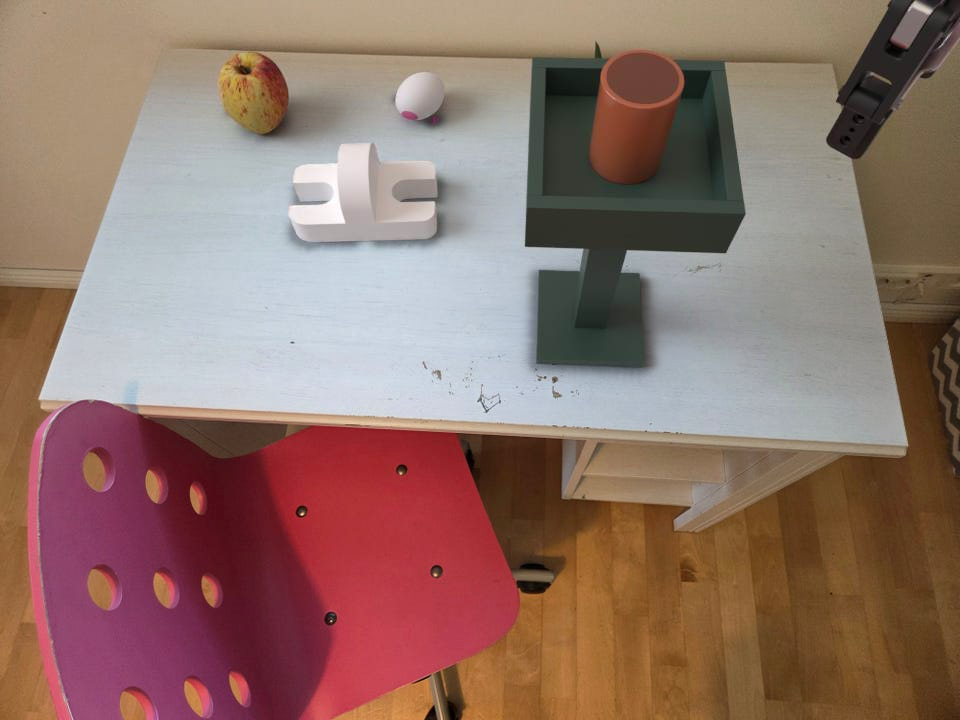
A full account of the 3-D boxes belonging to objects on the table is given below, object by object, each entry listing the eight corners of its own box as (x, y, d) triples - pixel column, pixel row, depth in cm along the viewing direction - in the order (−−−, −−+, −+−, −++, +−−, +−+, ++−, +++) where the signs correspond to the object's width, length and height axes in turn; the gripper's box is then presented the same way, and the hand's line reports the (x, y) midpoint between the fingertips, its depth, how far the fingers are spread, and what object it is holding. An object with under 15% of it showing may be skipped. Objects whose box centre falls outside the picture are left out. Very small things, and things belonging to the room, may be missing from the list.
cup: (643, 122, 59) (663, 41, 52) (673, 173, 56) (699, 95, 49) (577, 139, 58) (588, 59, 51) (604, 192, 55) (620, 116, 48)
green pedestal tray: (653, 265, 84) (724, 60, 57) (661, 384, 77) (746, 213, 50) (522, 260, 85) (532, 56, 58) (517, 378, 78) (526, 207, 51)
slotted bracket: (294, 242, 87) (271, 191, 79) (302, 183, 92) (281, 128, 83) (436, 238, 87) (429, 186, 78) (437, 179, 91) (431, 123, 82)
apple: (307, 131, 96) (287, 72, 87) (246, 155, 94) (219, 98, 85) (283, 90, 100) (262, 29, 91) (224, 113, 98) (196, 53, 89)
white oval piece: (431, 109, 101) (409, 66, 98) (464, 105, 95) (442, 59, 92) (395, 138, 99) (371, 95, 95) (427, 135, 93) (402, 89, 89)
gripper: (1114, -94, 23) (878, 213, 38) (1252, -259, 28) (994, 73, 42) (905, -172, 26) (759, 145, 40) (1063, -312, 30) (880, 19, 45)
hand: (880, 108), depth 41 cm, fingers open, 8 cm apart
